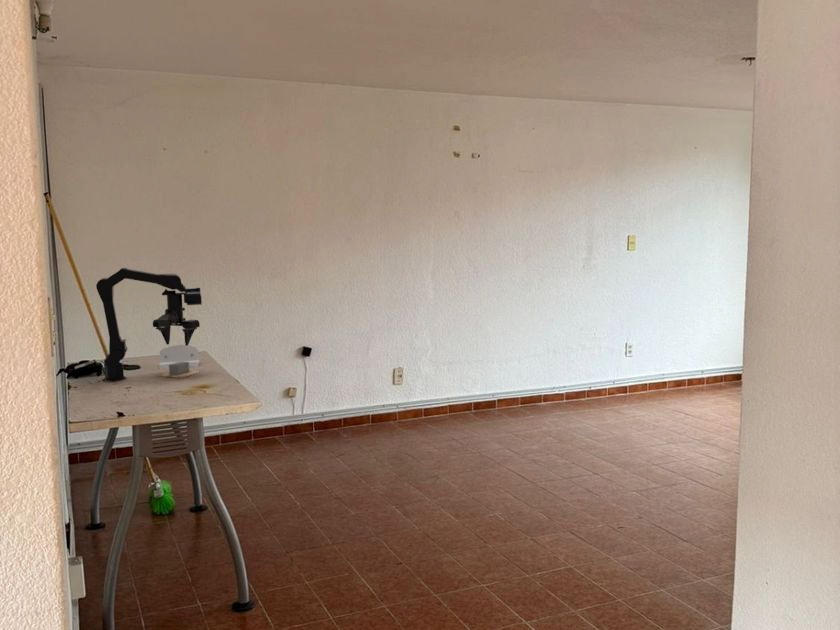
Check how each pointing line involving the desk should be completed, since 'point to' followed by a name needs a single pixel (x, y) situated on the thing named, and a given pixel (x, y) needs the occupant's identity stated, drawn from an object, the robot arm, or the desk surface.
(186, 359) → the hinge
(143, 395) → the desk surface
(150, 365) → the desk surface
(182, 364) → the plug
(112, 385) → the desk surface
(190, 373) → the coaster
